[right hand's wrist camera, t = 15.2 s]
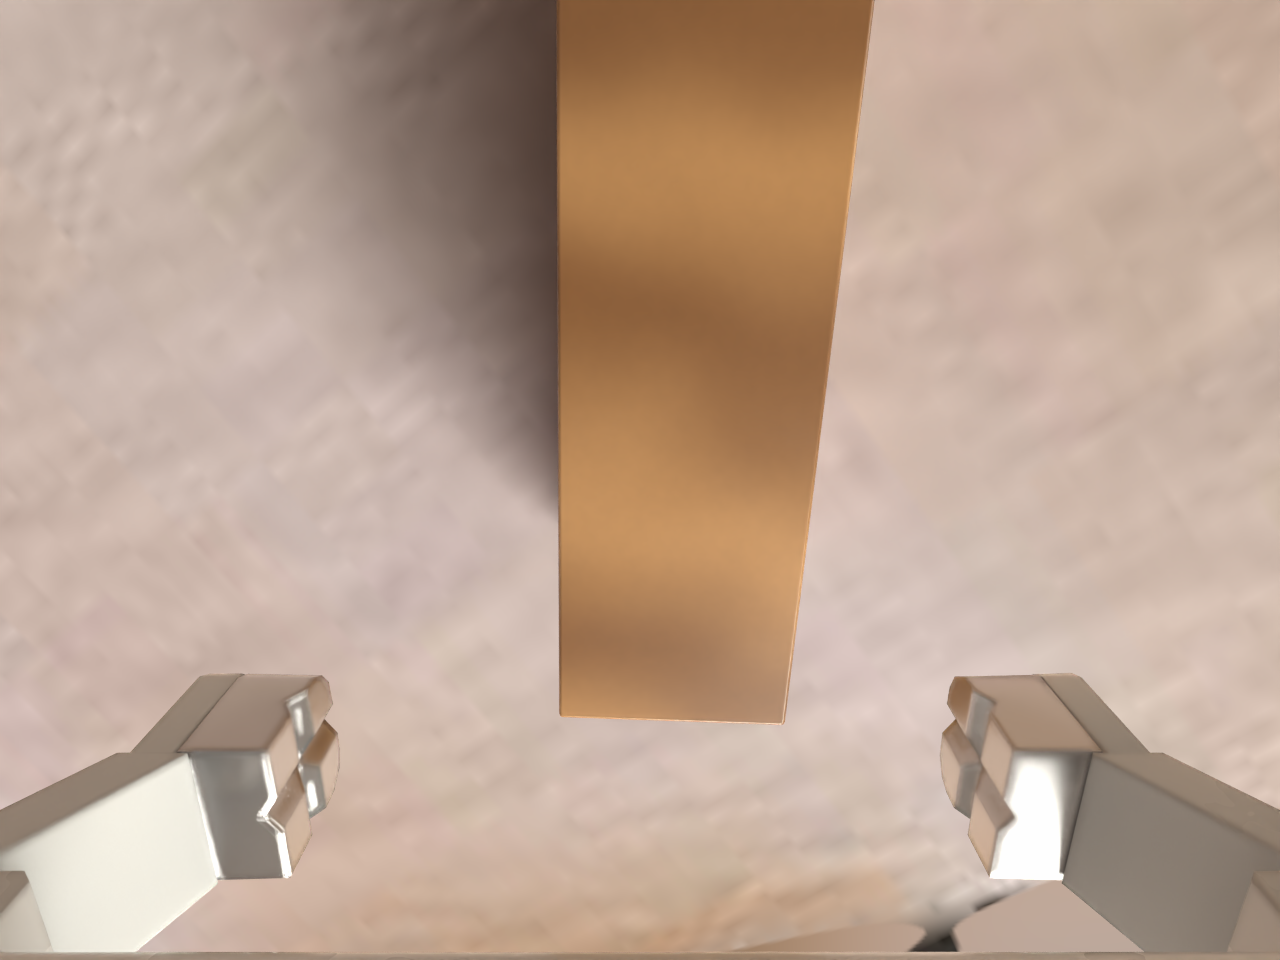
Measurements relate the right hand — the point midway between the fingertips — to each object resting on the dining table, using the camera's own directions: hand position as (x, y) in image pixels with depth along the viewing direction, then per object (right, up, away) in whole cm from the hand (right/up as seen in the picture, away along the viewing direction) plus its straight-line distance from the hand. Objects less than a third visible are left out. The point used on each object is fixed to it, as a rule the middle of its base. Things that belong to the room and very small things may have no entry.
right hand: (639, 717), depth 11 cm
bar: (+1, +12, +11) cm, 17 cm away
